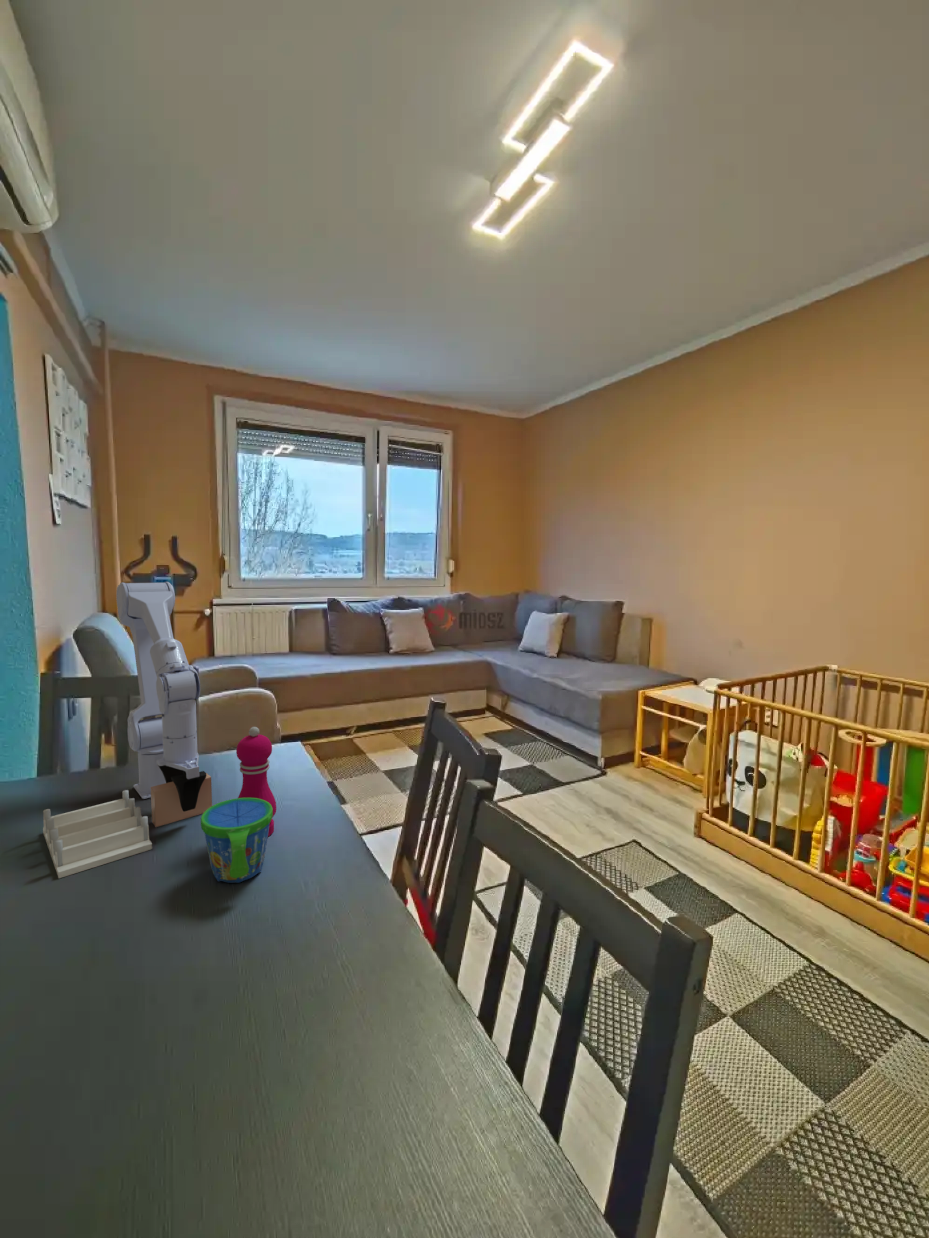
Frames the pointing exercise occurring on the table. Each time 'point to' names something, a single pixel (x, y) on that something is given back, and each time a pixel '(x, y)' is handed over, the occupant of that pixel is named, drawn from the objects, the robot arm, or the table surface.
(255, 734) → the pepper mill
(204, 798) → the tile
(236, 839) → the snack cup
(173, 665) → the robot arm
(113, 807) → the dish rack
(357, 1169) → the table surface
